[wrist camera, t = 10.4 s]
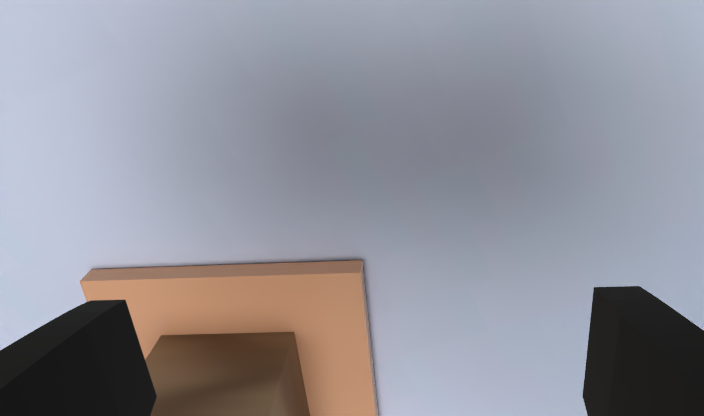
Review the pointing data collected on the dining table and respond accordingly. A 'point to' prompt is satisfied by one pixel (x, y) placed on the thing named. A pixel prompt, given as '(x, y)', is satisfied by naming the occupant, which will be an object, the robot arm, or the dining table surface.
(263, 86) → the dining table surface
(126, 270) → the terracotta tile
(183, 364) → the walnut block
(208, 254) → the dining table surface
